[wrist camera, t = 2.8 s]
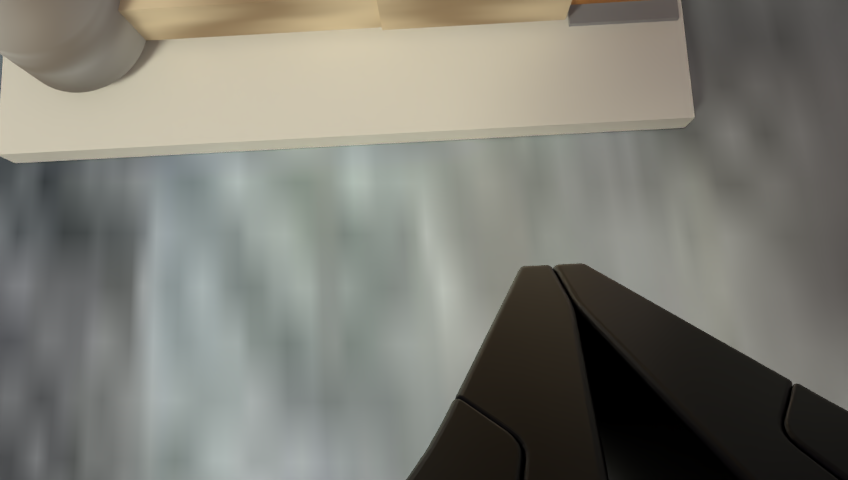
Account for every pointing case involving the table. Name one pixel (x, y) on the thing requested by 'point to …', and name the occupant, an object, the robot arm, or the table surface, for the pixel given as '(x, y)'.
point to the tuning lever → (213, 27)
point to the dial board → (367, 88)
